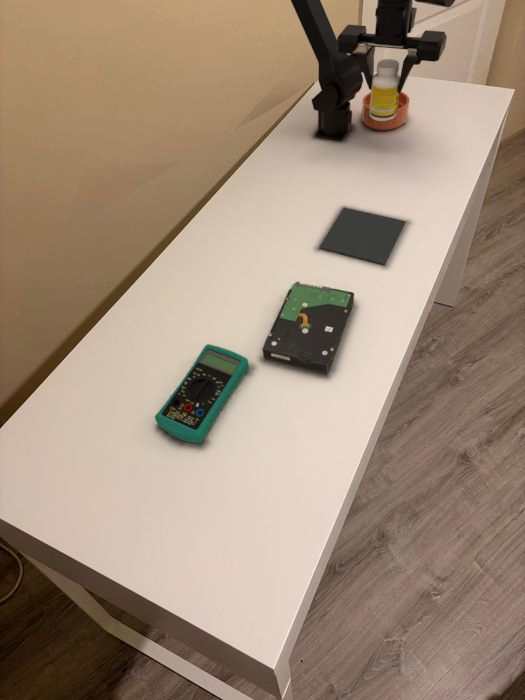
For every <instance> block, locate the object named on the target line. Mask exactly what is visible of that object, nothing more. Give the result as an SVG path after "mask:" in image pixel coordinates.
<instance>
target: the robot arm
mask: <svg viewBox="0 0 525 700" xmlns="http://www.w3.org/2000/svg"><path fill="white" fill-rule="evenodd" d="M414 1H415V2H416V3H420V4H421V3H422V4H427V5H432V6H436V7H437V6H438V7H442V8H446V9H447V8H450V7H452V6H453V5H454V3H455V2H456V0H414ZM290 3H291V5H292V7H293V9H294V11H295V14H296V15H297V18H298V20H299V23H300V24H301V27H302V30H303V32H304V33H305V35H306V38H307V41H308V42H309V45H310V47H311V49H312V51H313V53H314V54H313V55H314V56H315V58H316V60H317V64H318V79H317V80H318V83H319V87H320V91H319V92H318V93H317V94H316V95H315V96H314V97H312V99H311V104H312V107H313V108H312V109H313V110H314V111H316V112H317V130H316V132H314V136H315V137H317V138H324V139H329V140H335V141H340V142H341V141H343V140H344V139H345V138H346V136H347V135H348V134H349V132H350V131H351V129H352V127H353V124H352V123H353V122H352V121H353V110H352V109H351V102H350V101H352V100H354V99H355V98H356V95H357V94H358V93H359V92H360V91H361V89H362V87H363V83H364V79H365V82H366V84H367V87H368V89H369V90H370V91H371V88H372V79H373V77H374V75H375V51H376V48H385V49H397V50H407V54H406V56H405V57H404V59H403V61H402V66H401V71H400V81H399V86H398V93H401V92H403V90H404V86H405V84H406V82H407V80H408V78H409V75H410V73H411V71H412V69H413V68H414V66H418V65H420V64H421V63H422V61H423V62H433V63H435V62H438V61H439V60H440V58H441V56H442V55H443V52H445V49H446V45H447V44H446V43H447V38H448V37H447V34H446V32H445V31H438V30H428V29H427V30H426V29H425V30H424V32H423V33H422V34H421V36H409V35H408V34H411V32H412V30H413V29H414V27H415V20H416V15H417V11H418V8H417V7H413V0H377V4H376V8H375V11H374V12H375V15H374V16H375V29H374V33H367V30H368V29H367V26H366V25H359V24H347V25H346V26H345V27H344V28H343V30H342V31H340V33H339V35H338V36H336V34H335V32H334V29H333V27H332V25H331V22H330V20H329V17H328V16H327V13H326V10H325V8H324V6H323V3H322V1H321V0H290Z"/></svg>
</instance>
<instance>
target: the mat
mask: <svg viewBox="0 0 525 700" xmlns="http://www.w3.org/2000/svg"><path fill="white" fill-rule="evenodd" d="M405 225H406V220H403V219H398V218H394V217H389V216H384V215H380V214H375V213H370V212H366V211H364V210H363V211H362V210H357V209H353V208H349V207H345V206H343V208H342V209H341V211H340V213H339V214H338V216H337V217H336V219H335V221H333V224H332V225H331V227H330V229H329V230H328V232H327V234H326V235H325V237H324V239H323V240H322V242H321V243H320V245H319V246H318V249H320V250H322V251H323V250H324V251H327V252H331V253H335V254H339V255H342V256H347V257H351V258H354V259H358V260H362V261H365V262H370V263H374V264H376V265H382V266H385V265H386V263H387V261H388V259H389V257H390V255H391V253H392V251H393V249H394V247H395V246H396V243H397V242H398V241H397V240H398V238H399V237H400V235H401V233H402V232H403V229H404V227H405Z"/></svg>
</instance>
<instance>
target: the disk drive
mask: <svg viewBox="0 0 525 700" xmlns="http://www.w3.org/2000/svg"><path fill="white" fill-rule="evenodd" d="M354 302H355V292H353V291H348V290H342V289H338V288H333V287H329V286H325V285H322V286H317V285H314V284H308V283H303V282H301V283H300V281H295V283H293V284H292V285H291V286H290V288H289V290H288V291H287V293H286V296H285V299H284V301H283V303H282V304H281V307H280V309H279V310H278V313H277V316H276V319H275V320H274V322H273V324H272V326H271V329H270V331H269V333H268V335H267V337H266V338H265V341H264V344H263V347H262V354H263V359H266V360H267V359H268V360H270V361H274V362H278V363H281V364H286V365H290V366H294V367H297V368H302V369H305V370H308V371H313V372H317V373H323V374H326V375H329V373H330V370H331V369H332V368H331V367H332V365H333V363H334V360H335V356H336V354H337V352H338V351H337V350H338V348H339V345H340V342H341V340H342V337H343V333H344V330H345V328H346V325H347V322H348V319H349V318H350V315H351V311H352V308H353V305H354Z"/></svg>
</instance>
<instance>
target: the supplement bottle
mask: <svg viewBox="0 0 525 700" xmlns="http://www.w3.org/2000/svg"><path fill="white" fill-rule="evenodd" d="M399 69H400V62H399V61H398V60H396V59H392V58H386V59H382V60H380V61H378V62H377V65H376V73H374V77H373V79H372V88H371V90H370V92H371V99H370V111H369V114H370V117H371V118H373V119H374V120H378V121H387V120H390V119H393V118H394V117H395V116H396V113H397V106H398V98H399V93H398V86H399V81H400V76H401V74H399Z"/></svg>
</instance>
